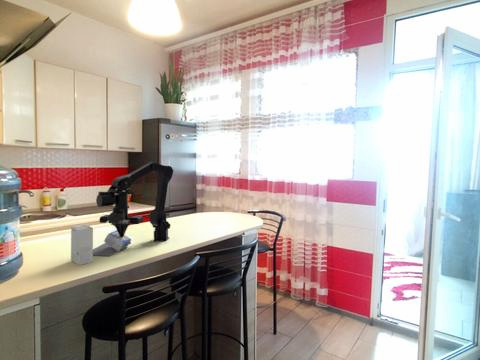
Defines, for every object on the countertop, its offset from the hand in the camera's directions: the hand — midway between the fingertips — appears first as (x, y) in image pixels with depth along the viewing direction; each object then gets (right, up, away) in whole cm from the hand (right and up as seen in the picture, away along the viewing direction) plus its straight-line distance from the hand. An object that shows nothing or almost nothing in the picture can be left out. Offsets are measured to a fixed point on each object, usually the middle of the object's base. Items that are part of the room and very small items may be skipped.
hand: (121, 237), depth 135 cm
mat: (-6, -6, +1) cm, 8 cm away
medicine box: (+2, -4, 0) cm, 4 cm away
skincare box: (-10, -7, -16) cm, 20 cm away
